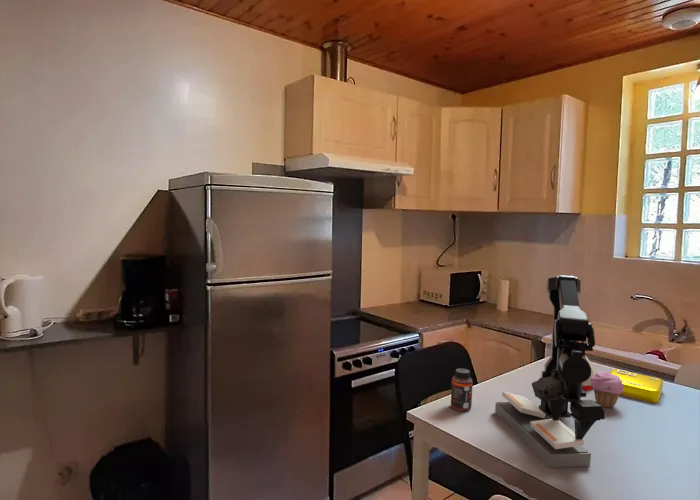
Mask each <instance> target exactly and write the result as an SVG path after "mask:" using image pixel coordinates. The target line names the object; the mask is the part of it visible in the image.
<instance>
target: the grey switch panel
mask: <svg viewBox="0 0 700 500" xmlns="http://www.w3.org/2000/svg"><path fill="white" fill-rule="evenodd" d="M494 413H495V414H496V415H497V416H498V417H499V418H500V419H501V420H502V421H503V422H504V423H505V424H506V425H507V426H508V427H509V428H510V429H511V430H512V431H513V432H514V433H515V434H516V435H517V436H518V437H519V439H520V440H522V442H523V443H524V444H525V445H526V446H528V448H529V449H530V450H531V451H532V452H533V453H534V454H535V455H536V456H537V457H538V458H539V459H540V460H541V462H543V463H544V464H545V465H546V467H548V468H549V469H550V468H569V467H571V468H574V467H575V468H576V467H591V458H592V457H591V456H592V453H591V452H590V451H588V450H587V449H586V448H585V447H584V446H583V445H581V446H574V447H567V448H560V449H555V448H554V447H552V446H551V445H550V444H549V443H548V442H547V441H546V440H545V439H544V438H543V437H542V436H541V435H540V434H538V433H537V432H536V431H535V430H534V429H533V428H532V427H531V426H530V422H531V421H538V420H545V419H550V418H549V417H548V416H546V415H545V418H541V417H537V416H533V415H530V414H526V413H522V412H520V411H519V410H518V409H516V408H515V407H514V406H513V405H512V404H511V403H510V402H509V401H497V402H496V401H495V408H494Z"/></svg>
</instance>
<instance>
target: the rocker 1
mask: <svg viewBox="0 0 700 500" xmlns="http://www.w3.org/2000/svg"><path fill="white" fill-rule="evenodd" d="M501 396H502V397H503V398H504V399H505V400H507V402H510V403H511V404H512V405H513V406H514V407H515V408H516V409H518V410H519V411H520V412H522V413H526V414H530V415H533V416H537V417H541V418H545V416H546V414H547V413H545V412H544V411H543V410H542V409H541V408H539V406H537V405H535V404H534V403H533V402H532V401H530V399H528V398H527V397H526V396H523V395H518V394H515V393H511V392H508V391H504V390H503V391H502V393H501Z"/></svg>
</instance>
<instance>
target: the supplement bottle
mask: <svg viewBox="0 0 700 500" xmlns="http://www.w3.org/2000/svg"><path fill="white" fill-rule="evenodd" d="M470 373H471V372H470V370H469V369H466V368H456V369H455V375H453V376H452V378H451V390H450V395H451V396H450V406H451V408H452V409H453V410H455V411H458V412H459V411H460V412H469V411H470V410H471V409H472V404H473V402H472V400H473V386H474V385H473V379H472V377H471V376H470V375H471V374H470Z"/></svg>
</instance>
